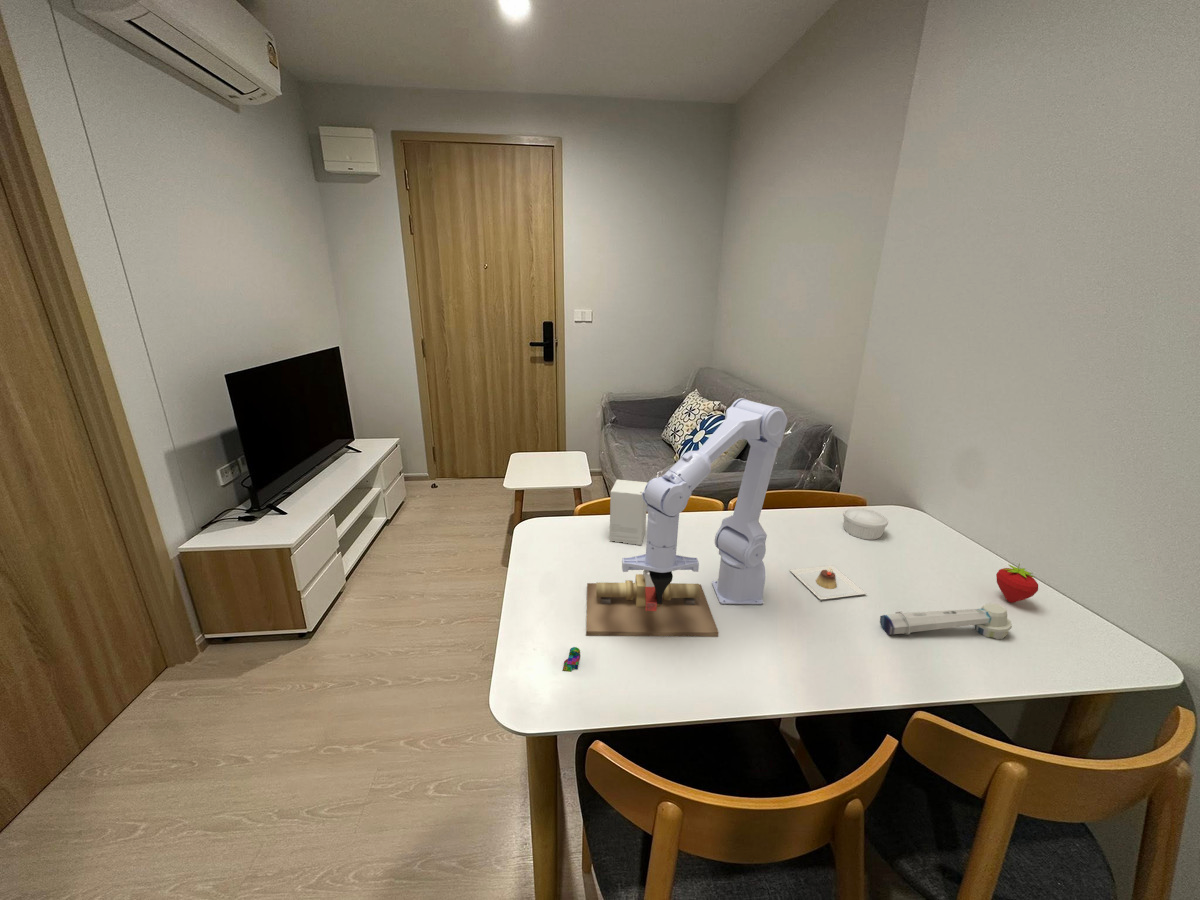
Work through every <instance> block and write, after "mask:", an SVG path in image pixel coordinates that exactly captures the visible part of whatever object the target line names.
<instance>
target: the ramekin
mask: <svg viewBox="0 0 1200 900" xmlns="http://www.w3.org/2000/svg"><path fill="white" fill-rule="evenodd" d="M842 516H843V528H844V530H845V531H846V533H847V534H849V535H851V536H853V537H855V538H858V539H863V540H869V541H871V540H872V541H873V540H877V539H878V540H879V538H881V537H882V536H883V533H884V531H885V530H886V527H887V526H888V524H889V520H888V518H887V517H886V516H885V515H883V514H881V513H879V512H877V511H874V510H870V509H867V508H860V507H859V508H857V507H853V508H852V507H851V508H850V507H849V508H846V509H844V511H843V514H842Z"/></svg>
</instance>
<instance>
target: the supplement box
mask: <svg viewBox="0 0 1200 900" xmlns="http://www.w3.org/2000/svg"><path fill="white" fill-rule="evenodd" d="M648 482H649V481H648ZM648 482H647V481H646V482H645V481H635V480H627V479H626V480H625V479H616V480H615V482H614V484H613V486H612V489H611V490H610V493H609V494H610V495H609V496H610V497H609V498H610V503H609V506H610V507H609V509H610V510H609V511H610V512H609V540H610V541H609V540H608V541H609V542H612V541H615V542H614V543H619V542H623V543H622V544H627V543H628V544H627V545H629V544H630V545H635V544H636V545H637V546H642V544H643V542H644V541H643V540H644V537H645V534H646V530H647V527H646V526H647V525H646V524H647V511H646V507H647V506H646V503H645V502H644V501H643V498H642V492H644V490H645V487H646V485H647V483H648Z"/></svg>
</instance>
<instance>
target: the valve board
mask: <svg viewBox="0 0 1200 900" xmlns="http://www.w3.org/2000/svg"><path fill="white" fill-rule="evenodd" d="M586 585H587V586H586V635H585V636H592V637H593V636H595V637H596V636H597V637H599V636H604V637H605V636H609V637H610V636H612V637H613V636H614V637H617V636H618V637H630V636H631V637H633V636H634V637H704V638H705V637H713V638H714V637H717V638H718V637H719V633H720V632H719V630H718V628H717V624H716V622H715V619H714V616H713V614H712V611H711V609H710V605H709V604H708V600H707V598H706V597H707V596H706V595H705V592H704V588H703V586H702V584H700V583H686V582H685V583H684V582H683V583H680V582H679V583H676V582H675V583H674V582H673V583H672V582H670V583H669V585H668V586H667V587H666V589H665V591H664V593H663V595H662V604H657V608H656V611H646V606H645V581H644V580H643V573H641V574H640V573H639V574H637V573H636V574H635V582H633V580H631V579H630V580H628V579H627V580H625V582H596V583H595V582H587V583H586ZM654 587H655V586H654Z"/></svg>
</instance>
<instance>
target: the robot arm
mask: <svg viewBox="0 0 1200 900" xmlns="http://www.w3.org/2000/svg"><path fill="white" fill-rule="evenodd" d="M788 422H789V420H788V417H787V415H786V412H784V410H783V408H781V407H779V406H773V405H768V404H764V403H760V402H755V401H752V400H749V399H746V398H745V397H744V398H743V397H741V398H738V399H736V400H734V402H732V404H731V406H729V407H728V408H727V409H726V411H725V417H724V420H723V421H722V423H721V424H720V425H719V426H718V427H717V428H716V429H715V431H713V433H712V434H711V435H710V436H709V438H707V440H706V441H705V442H704V443H703V444H702V445H701V446H700V448H699V449H697V450H687V452H685V453H684V454H683V455H682V456H681V458H680V459H678V460H677V461H676V462H675V463H674V464H673V465H672V466H671V467H670V468H669V469H668V470H667V471H666V472H665V473H664V474H662V476H658V477H654V478H652V479H650V480H649V481H648V483H647V485H646V487H645V490H644V492H642V498H643V501H644V502H645V503H646V506H647V507H646V513H647V521H646V524H647V525H646V526H647V527H646V541H645V542H646V547H645V554H639V555H635V556H630V557H622V558H621V559H622V560H621V570H622V572H623V573H627V572H628V573H629V571H644V570H648V571H649V573H650V577H651V580H652V582H653V584H654V586H655V591H656V599H657V604H662V595H663V593H664V591H665V589H666V587H667V586H668V585H669V583H672V581H673V577H674V576H673V572H675V571H686V570H687V571H692V572H694V573H695V572H699V569H700V562H699V559H698V558H697V557H693V556H692V557H691V556H685V555H679V554H677V546H678V534H679V522H680V521H679V520H680V513H682V512H684V510H685V509H686V507H687V504H688V503H689V499H690V498H691V497H692V495H693V493H692V492H693V491H694V490H695V489H696V488H697V487H698V486H699V484H701V483H702V482H703V481H704V480H705V479H706V478H707V477H708V476H709V475H710V474H711V472H712V463H713V462H714V461H716V460H717V459H718V458H719V457H720V456H722V455H723V453H724V454H725V452H726V451H727V450H729V449H730V448H731V447H732V446H733V445H735V444H736V443H737V442H738V441H739V440H746V441H747V443H748V445H749V446H750V448H749V450H748V451H749V452H748V456H747V460H746V463H745V467H744V472H743V474H742V479H741V483H740V486H739V491H738V494H737V499H736V503H735V506H734V509H733V515H730V516H728V517H725V518H723V519H722V521H721V523H720V524H721V525H720V526H719V528H718V530H717V532H716V533H715V535H714V545H715V547H716V549H718V555H719V556H720V561H719V570H718V577H717V578H718V579H717V580H713V581H711V585H712V587H713V590H714V592H715V595H716V597H717V600H718V602H719V604H720V605H721V604H722V605H763V604H764V601H763V597H764V596H763V594H764V590H765V589H764V588H765V583H766V566H765V562H764V558H765V555H766V550H767V548H766V547H767V546H766V542H767V538H768V537H767V536H768V534H767V533H766V531H765V530H764V528H763V526H762V524H761V523H760V521H759V520H760V516H761V512H762V509H763V505H764V501H765V498H766V494H767V492H768V491H767V490H768V487H769V484H770V481H771V476H772V472H773V468H774V465H775V461H776V457H777V454H778V452H779V451H778V450H779V448H781V446H782V442H783V438H784V435H785V431H786V428H787V424H788Z"/></svg>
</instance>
